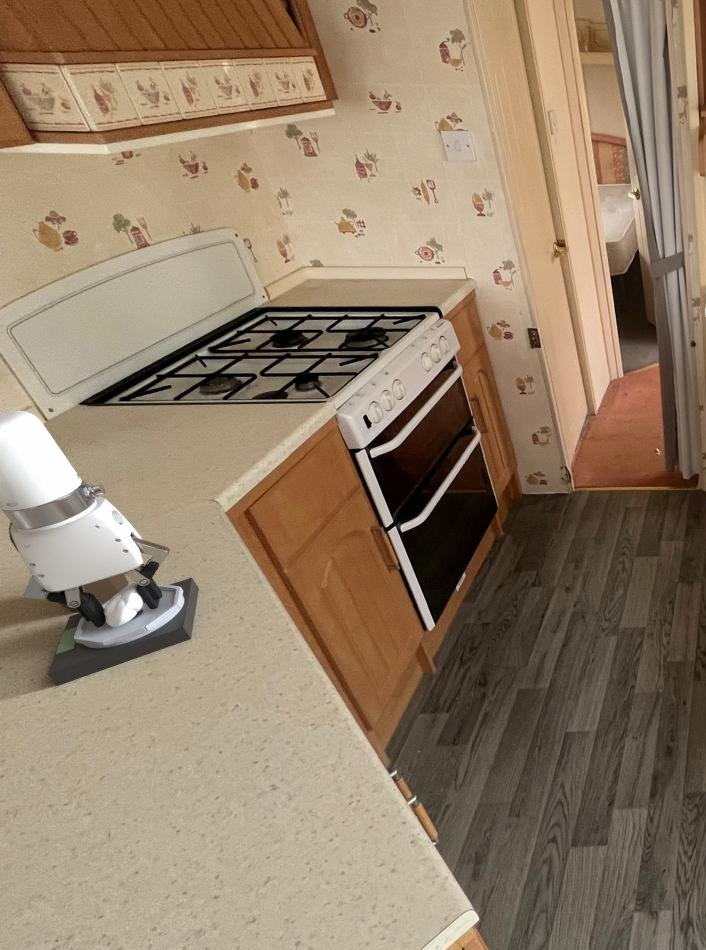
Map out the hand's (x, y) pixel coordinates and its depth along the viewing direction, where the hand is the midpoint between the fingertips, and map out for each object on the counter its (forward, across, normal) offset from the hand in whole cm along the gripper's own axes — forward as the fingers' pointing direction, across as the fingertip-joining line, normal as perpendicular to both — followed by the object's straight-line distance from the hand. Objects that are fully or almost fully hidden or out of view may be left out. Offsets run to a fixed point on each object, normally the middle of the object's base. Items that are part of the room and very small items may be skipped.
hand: (128, 611), depth 94 cm
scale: (+4, +1, 0) cm, 4 cm away
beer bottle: (+4, +7, -14) cm, 16 cm away
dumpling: (+1, 0, 0) cm, 1 cm away
